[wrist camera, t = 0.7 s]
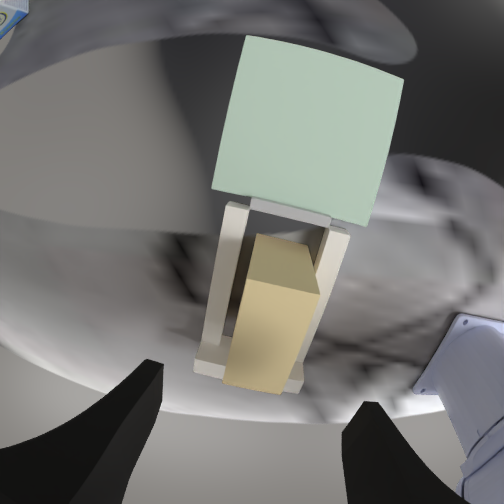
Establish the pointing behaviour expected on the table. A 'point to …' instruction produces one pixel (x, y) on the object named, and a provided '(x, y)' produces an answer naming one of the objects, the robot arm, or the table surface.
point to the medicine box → (12, 14)
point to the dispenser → (232, 232)
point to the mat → (307, 129)
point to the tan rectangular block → (272, 315)
